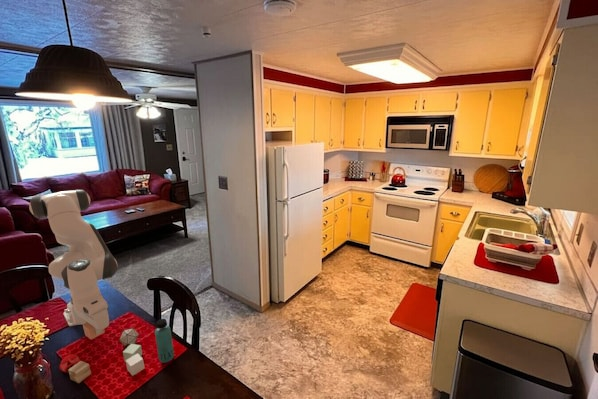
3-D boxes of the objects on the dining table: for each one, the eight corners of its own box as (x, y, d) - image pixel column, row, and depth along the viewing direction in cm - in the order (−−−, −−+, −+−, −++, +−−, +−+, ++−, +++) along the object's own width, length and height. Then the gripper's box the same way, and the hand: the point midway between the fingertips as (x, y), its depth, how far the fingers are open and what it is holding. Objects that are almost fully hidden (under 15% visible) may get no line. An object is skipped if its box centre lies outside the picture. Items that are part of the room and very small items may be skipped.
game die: (132, 352, 139) (127, 348, 131) (117, 345, 139) (110, 339, 132) (145, 334, 144) (141, 328, 137) (130, 326, 145) (125, 321, 137)
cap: (84, 359, 126) (79, 347, 129) (68, 365, 121) (63, 352, 123) (76, 371, 128) (70, 359, 130) (60, 377, 123) (55, 365, 125)
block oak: (70, 379, 120) (68, 369, 119) (83, 370, 125) (80, 360, 124) (78, 383, 119) (76, 373, 117) (91, 373, 123) (88, 364, 122)
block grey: (127, 369, 125) (125, 360, 124) (139, 362, 129) (137, 353, 127) (132, 376, 122) (130, 366, 120) (144, 368, 126) (143, 358, 124)
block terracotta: (85, 335, 118) (82, 324, 116) (98, 327, 122) (96, 317, 120) (91, 339, 115) (88, 329, 114) (104, 332, 119) (102, 321, 118)
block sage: (124, 361, 129) (122, 352, 128) (132, 352, 134) (131, 343, 133) (134, 363, 128) (132, 353, 127) (142, 354, 133) (140, 345, 132)
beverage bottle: (159, 368, 126) (153, 328, 120) (158, 357, 131) (152, 319, 126) (175, 362, 129) (170, 323, 123) (174, 352, 134) (168, 314, 129)
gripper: (65, 296, 117) (73, 325, 121) (91, 313, 107) (98, 344, 110) (83, 288, 122) (90, 317, 126) (109, 304, 112) (115, 334, 116)
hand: (94, 330), depth 118 cm, fingers closed on block terracotta, 5 cm apart
